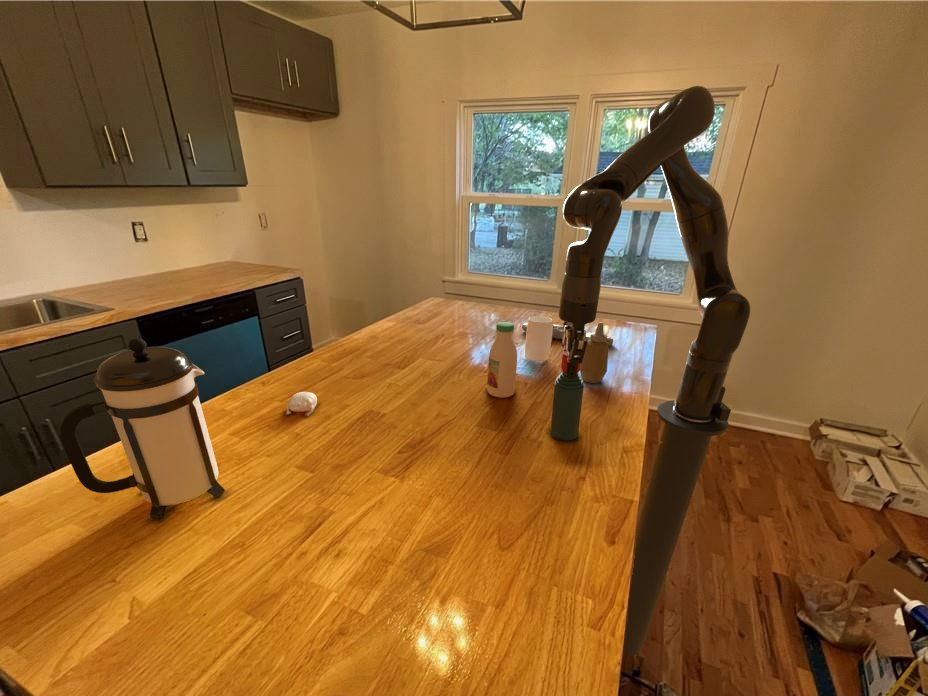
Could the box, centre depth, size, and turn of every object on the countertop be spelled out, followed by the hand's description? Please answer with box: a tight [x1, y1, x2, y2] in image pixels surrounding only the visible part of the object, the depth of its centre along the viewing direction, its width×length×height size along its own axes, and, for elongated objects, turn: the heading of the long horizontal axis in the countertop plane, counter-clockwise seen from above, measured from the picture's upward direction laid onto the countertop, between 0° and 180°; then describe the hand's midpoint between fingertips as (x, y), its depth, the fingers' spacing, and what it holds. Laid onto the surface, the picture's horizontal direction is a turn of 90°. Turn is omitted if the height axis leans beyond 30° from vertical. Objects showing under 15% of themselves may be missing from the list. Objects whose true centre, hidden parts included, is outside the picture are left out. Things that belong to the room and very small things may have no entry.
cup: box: [524, 315, 554, 362], centre depth 138 cm, size 8×8×14 cm
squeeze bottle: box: [579, 321, 610, 384], centre depth 125 cm, size 8×8×18 cm
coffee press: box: [59, 337, 226, 520], centre depth 71 cm, size 17×16×30 cm
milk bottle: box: [486, 321, 518, 399], centre depth 115 cm, size 8×8×20 cm
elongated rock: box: [521, 322, 614, 347], centre depth 162 cm, size 35×5×10 cm
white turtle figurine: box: [285, 391, 318, 416], centre depth 107 cm, size 8×7×4 cm
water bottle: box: [550, 371, 585, 441], centre depth 96 cm, size 6×6×20 cm
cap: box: [560, 351, 581, 373], centre depth 92 cm, size 4×4×4 cm
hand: (568, 373), depth 93 cm, fingers closed on cap, 3 cm apart
